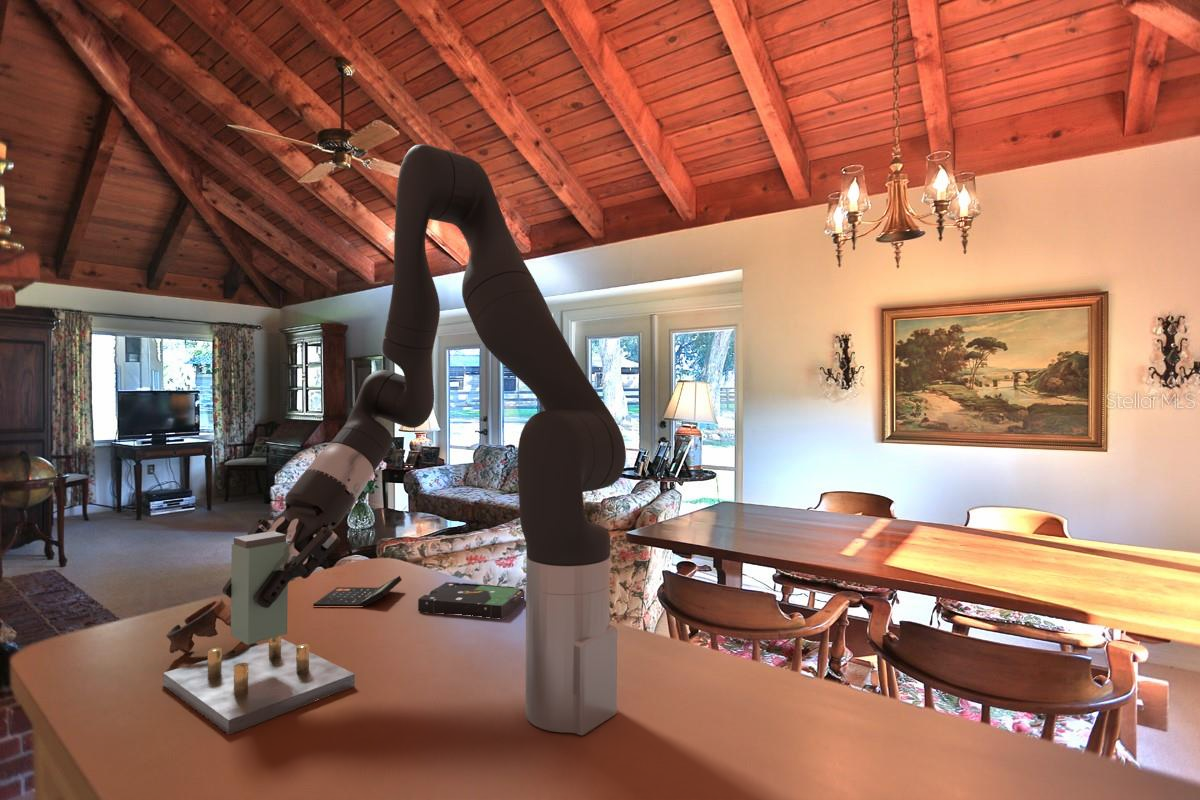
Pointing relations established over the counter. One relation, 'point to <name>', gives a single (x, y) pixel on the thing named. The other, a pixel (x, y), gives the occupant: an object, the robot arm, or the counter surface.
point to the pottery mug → (202, 627)
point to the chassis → (256, 683)
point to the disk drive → (472, 600)
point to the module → (256, 587)
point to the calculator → (356, 595)
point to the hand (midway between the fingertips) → (244, 599)
